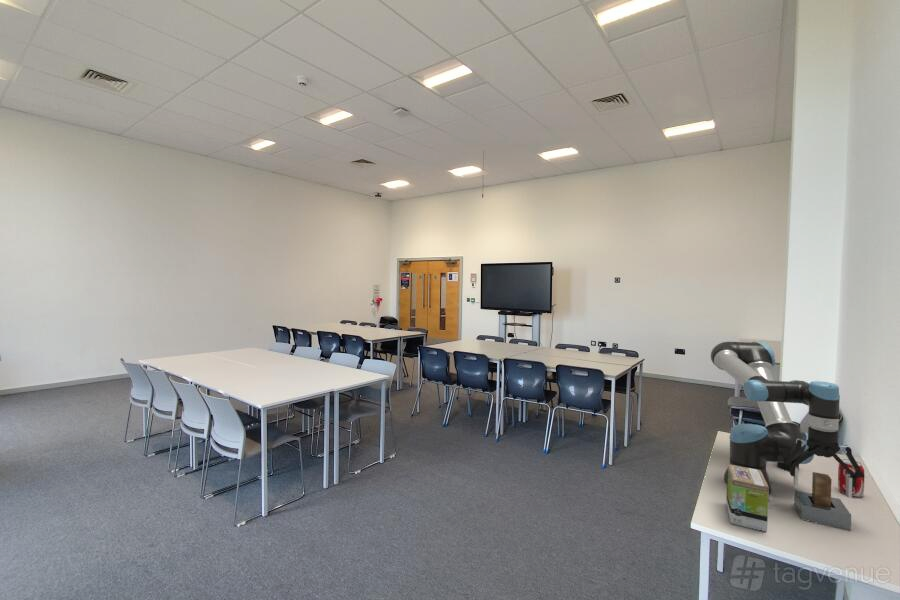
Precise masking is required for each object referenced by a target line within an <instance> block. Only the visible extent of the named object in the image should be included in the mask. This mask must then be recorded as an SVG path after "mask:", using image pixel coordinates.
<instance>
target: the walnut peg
mask: <svg viewBox="0 0 900 600" xmlns="http://www.w3.org/2000/svg"><path fill="white" fill-rule="evenodd" d="M811 493H812V503H813V504H818V505H822V506H827V507H831V497H832V478H831V476H829V474H827V473H821V472H814V471H812V485H811Z"/></svg>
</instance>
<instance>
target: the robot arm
mask: <svg viewBox="0 0 900 600" xmlns="http://www.w3.org/2000/svg"><path fill="white" fill-rule="evenodd" d="M710 360H711V362H712V364H713V366H715V367H716V368H717V369H719V370H722V371H725V372H726V374H728V375H729V376H731V378H733V379H734V380H735V381H736V382H737V383H738V384H740V385H741V386H742V387H743V388H742V389H743V394H744V395H745V398H747V400H750V401H756V403H757V405H758V408H759V410H760V414H761V416H762V418H763V421H764V424H765V426H763V425H761V424H753V423H740V424H736V425H734V426H732V427H731V428H730V434H729V463H728V464H730V465H736V466H741V467H746V468H752V469H757V470H761V472H762V474H763V476H764V478H765V480H766V482H767V484H768V487H769V495H770V494H771V493H772V491H773V490H772V488H773V486H772V481H771V480H770V477H769V474H768V472H767V463H768V462H769V463H770V462H771V463H777V462H780V463H785V464H786V465H789V466H790V471H789V474H790V476H791V477H793V479H792V481H793V483H792V484H793V486H794V488H798V487H799V471H798V468H797V466H798V465H799V466H800V465H808V464H809V463H811V462H812V461H813V459H814V458H815V456H817V457H825V458H832V457H833V459H834V460H835V461H836V462H837V463H838V465H839V464H840V465H841V466H842V467H843V468H844V469H845V470H846V471H847V472H848V473H849V474H850V475H846V494H845V495H846V496H847V498H849V499H850V498H851V499H852V498H853V496H852V487H854V488H856V479H858V478H859V477H861V478H864V479H865V473H864V474H863V472H862V471H861V469H860V467H859V466H858V464H857V462H858V461H857V462H856V458H855V457H854V455H853V453H852V448H851V447H850V446H849V445H839V432H838V430H839V426H840V425H839V418H840V417H839V416H840V398H841V395H840V387H839V386H838V384H836V383H832V382H827V381H820V380H817V381H815V380H813V381H809V382H810V383H809V382H807V381H805V380H799V379H798V380H797V379H792V380H790V381H781V380H774V377H773V375H772V373H771V372H772V370H773V368H774V366H775V363H776V357H775V352H774V351H773V349H772V348H771V346H770V345H769V344H767V343H764V342H757V341H752V342H748V341H747V342H746V341H722V342H720V343H718V344H717V345H715V346H714V347H713V348H712V350H711V352H710ZM785 403H786V404H787V403H790V404H791V403H792V404H801V405H802V404H803V405H806V406H808V428H807V432H805V431H802V430H801V427H800V428H799V426H798V425H797V424H796V423H794V422H795V421H794V422H792V421H793V420H792V419H791V417H790V414H789V412H788V410H787V407H786V404H785ZM839 451H842V453H844V454H845V456H846V457H847V459H848V460H850V462H851V464H852V465H853V467H854V469H855V471H856V472H853V471H852V470H851V469H850V468H849V467H848V466H847V465H846V464H845V463H844V462H843V461H842V458H841V457H840V456H839V455H838V454H837V453H838V452H839ZM727 468H728V466H727ZM727 468H726V470H725V472H724V474H723V475H724V476H723V481H724V483H725V484H726V485H727Z"/></svg>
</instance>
